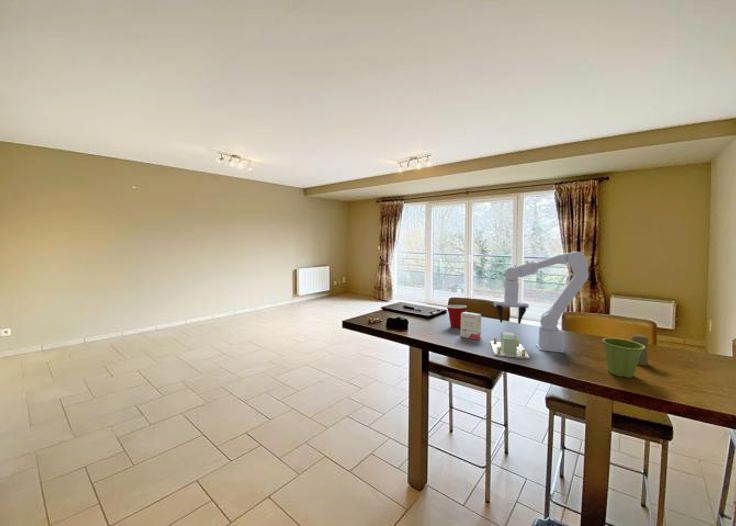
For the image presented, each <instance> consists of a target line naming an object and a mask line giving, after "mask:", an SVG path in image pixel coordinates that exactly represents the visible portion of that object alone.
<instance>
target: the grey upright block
mask: <svg viewBox="0 0 736 526" xmlns="http://www.w3.org/2000/svg"><path fill="white" fill-rule="evenodd" d="M630 339H631V340H630V341H633V342H637V343H640V344H642V345H644V346H645V349H643V351H642V354H641V355H640V357H639V361H638V365H637V366H641V365H648V366H649V359H648V348H647V347H648V346H647V345H648V344H649V341H650V340H649V337H648V336H646V335H644V334H643V335H642V334H632V335H631V337H630Z"/></svg>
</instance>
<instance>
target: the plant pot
mask: <svg viewBox="0 0 736 526" xmlns="http://www.w3.org/2000/svg"><path fill="white" fill-rule="evenodd" d="M601 340H602V341H601V342H603V346H604V350H605V356H606V357H605V358H606V365H607V371H608V372H609V373H610V374H611V375H614V376H616V377H625V378H626V379H627V378H628V379H629V378H633V377H634V376H635V373H636V369H637V367H638V365H637V364H638V361H639V357H640V355H641V354H642V351H643V349H645V346H644V345H642V344H640V343H637V342H633V341H631V340H629V339H623V338H617V337H605V338H602V339H601Z"/></svg>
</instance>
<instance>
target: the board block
mask: <svg viewBox="0 0 736 526" xmlns="http://www.w3.org/2000/svg"><path fill="white" fill-rule="evenodd" d="M517 339H518V338H517V337H516V335H515V334H514V333H513V332H505V331H503V332H502V331H501V332H500V342H501V346H502V349H503V351H505V352H515V353H517Z"/></svg>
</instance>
